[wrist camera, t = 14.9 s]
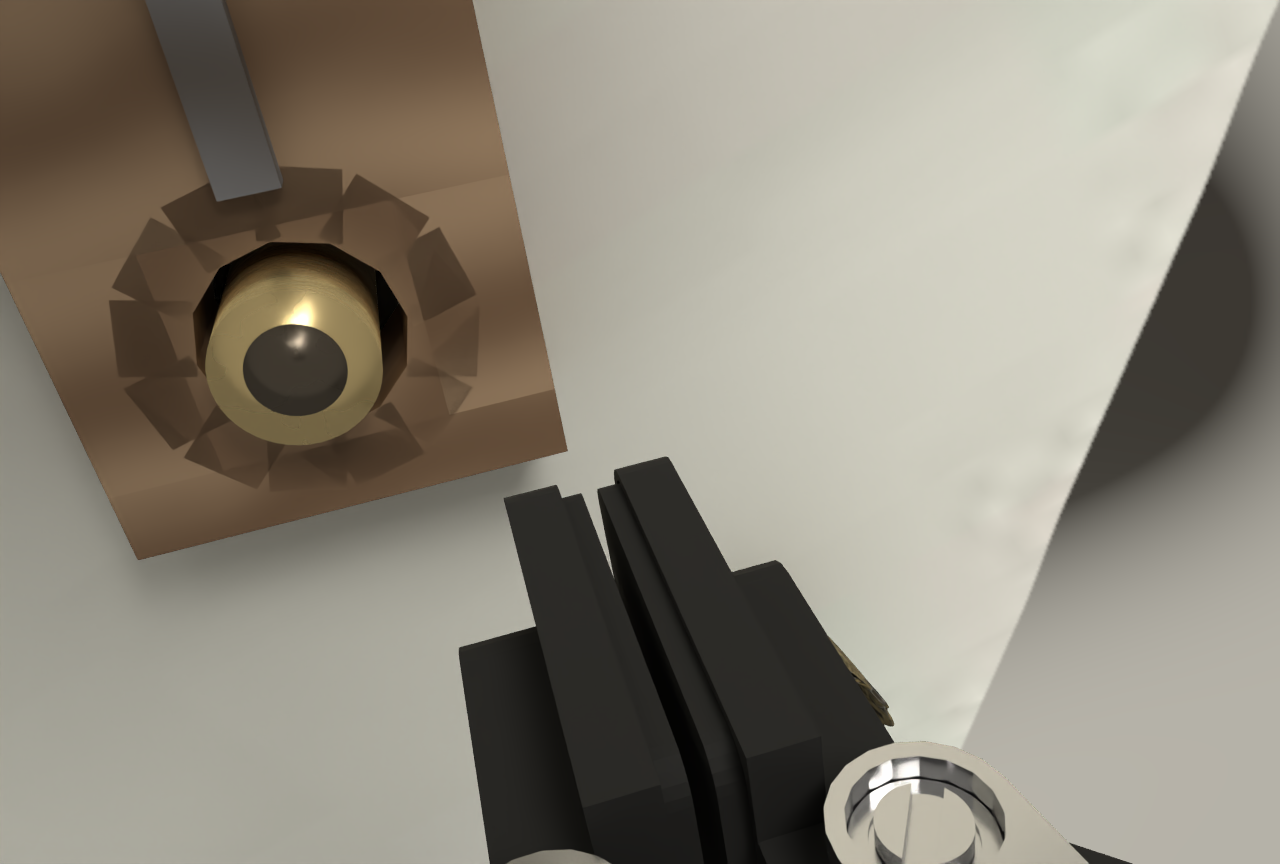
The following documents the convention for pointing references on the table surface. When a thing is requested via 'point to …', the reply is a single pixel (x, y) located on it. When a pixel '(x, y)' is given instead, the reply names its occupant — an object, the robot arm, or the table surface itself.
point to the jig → (263, 241)
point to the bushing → (296, 343)
